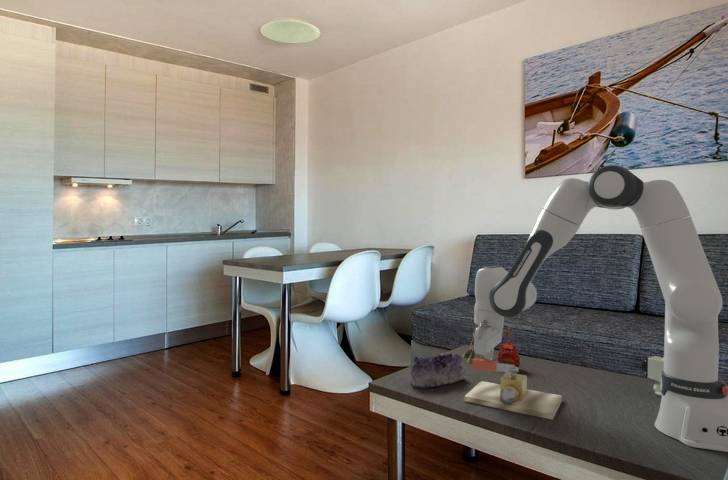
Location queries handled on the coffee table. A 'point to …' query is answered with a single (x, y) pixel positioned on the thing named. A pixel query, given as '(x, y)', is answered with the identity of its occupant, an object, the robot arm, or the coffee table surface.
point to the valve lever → (494, 366)
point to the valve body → (513, 388)
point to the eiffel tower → (471, 350)
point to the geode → (436, 371)
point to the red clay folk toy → (508, 353)
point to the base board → (530, 405)
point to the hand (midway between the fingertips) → (488, 362)
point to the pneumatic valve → (654, 370)
